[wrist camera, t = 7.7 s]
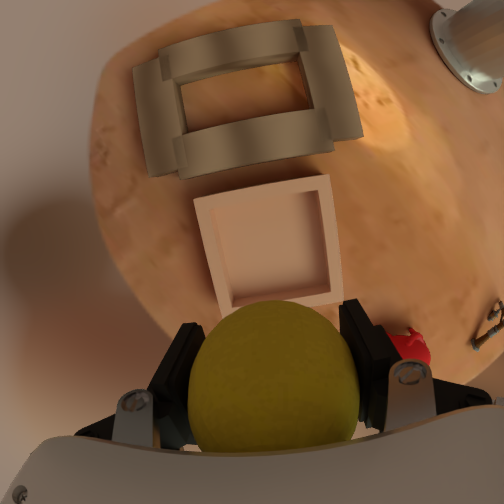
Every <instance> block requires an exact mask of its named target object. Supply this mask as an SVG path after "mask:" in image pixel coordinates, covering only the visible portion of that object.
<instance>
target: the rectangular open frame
mask: <svg viewBox="0 0 504 504" xmlns="http://www.w3.org/2000/svg"><path fill="white" fill-rule="evenodd" d="M158 54H159V57H158V58H156V59H153V60H150V61H148V62H145V63H143V64H140V65H138V66H136V67H133V68H132V72H133V81H134V90H135V98H136V106H137V113H138V120H139V126H140V132H141V138H142V144H143V150H144V155H145V161H146V166H147V171H148V176H149V177H160V176H163V175H167V174H170V173H174V172H178V173H179V178H180V180H183V179H190V178H194V177H198V176H202V175H207V174H211V173H215V172H220V171H224V170H229V169H234V168H239V167H244V166H249V165H254V164H259V163H264V162H270V161H276V160H282V159H288V158H294V157H300V156H307V155H314V154H321V153H329V152H332V151H335V149H334V144H333V142H336V141H345V140H355V139H358V138H361V137H364V135H363V130H362V125H361V121H360V116H359V112H358V108H357V104H356V100H355V96H354V92H353V88H352V85H351V81H350V77H349V74H348V71H347V67H346V64H345V61H344V58H343V54H342V51H341V48H340V45H339V42H338V40H337V37H336V34H335V31H334V29H333V26H332V25H318V26H302V24H301V21H300V19H293V20H283V21H274V22H266V23H259V24H253V25H247V26H242V27H237V28H232V29H227V30H223V31H218V32H214V33H210V34H206V35H203V36H199V37H195V38H192V39H189V40H185V41H182V42H179V43H176V44H173V45H170V46H167V47H164V48H161V49H159V50H158ZM296 61H297V62H298V65H299V69H300V73H301V77H302V80H303V84H304V88H305V92H306V96H307V100H308V104H309V110H301V111H294V112H287V113H280V114H274V115H268V116H262V117H257V118H252V119H247V120H242V121H237V122H232V123H228V124H223V125H219V126H215V127H211V128H207V129H203V130H199V131H195V132H192V133H188V127H187V122H186V116H185V111H184V105H183V100H182V94H181V88H180V86H181V85H184V84H187V83H191V82H194V81H198V80H201V79H205V78H209V77H213V76H217V75H221V74H225V73H229V72H234V71H239V70H244V69H249V68H254V67H260V66H266V65H272V64H279V63H287V62H296Z"/></svg>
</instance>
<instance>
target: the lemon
mask: <svg viewBox="0 0 504 504" xmlns="http://www.w3.org/2000/svg"><path fill="white" fill-rule="evenodd" d="M359 403H360V385H359V377H358V372H357V369H356V366H355V362H354V359H353V357H352V354H351V351H350V349H349V346H348V344H347V343H346V341H345V339H344V338H343V337H342V336H341V334H340V333H339V332H338V331H337V329H336V328H335V327H334V326H333V324H332V323H331V322H330V321H329V320H328V319H326V318H325V317H323V316H322V315H321V314H319V313H318V312H316V311H315V310H313V309H311V308H309V307H306V306H304V305H301V304H298V303H295V302H291V301H283V300H269V301H259V302H256V303H253V304H250V305H246V306H243V307H241V308H239V309H238V310H236V311H234V312H233V313H231V314H229V315H228V316H226V317H225V318H224V319H222V320H221V321H220V322H219V324H218V325H217V326H216V327H215V328H214V329H213V330H212V331H211V332H210V333H209V334H208V336H207V337H206V339H205V340H204V342H203V344H202V346H201V348H200V350H199V352H198V354H197V356H196V358H195V361H194V363H193V366H192V369H191V373H190V379H189V390H188V418H189V423H190V427H191V430H192V433H193V436H194V438H195V440H196V443H197V445H198V447H199V448H200V449H201V451H202V452H217V453H244V452H267V451H280V450H290V449H299V448H307V447H314V446H321V445H327V444H333V443H338V442H343V441H348V440H351V438H352V436H353V434H354V432H355V428H356V425H357V421H358V414H359Z"/></svg>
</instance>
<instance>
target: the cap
mask: <svg viewBox="0 0 504 504" xmlns="http://www.w3.org/2000/svg"><path fill="white" fill-rule="evenodd" d="M409 332H410V334H411V335H410V336H406V335H396V336H392V335H391V334H389V333H387V332H386V333H387V334H388V336H389V338H390V339H391V341H392V342H393V344H394V346H395V347H396V349H397V351H398V352H399V354H400V356H401V357H402V359H409V358H410V359H418V360H422V361H423V362H425V363H427V364H428V366H429V364H430V360H431V356H430V352H429V350H428V348H427V346H426V343H425V341H424V340H423V336H422V335H421V334H420V333H418V332H416V331H415V330H414V329H413V328H410V329H409Z"/></svg>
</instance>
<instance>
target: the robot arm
mask: <svg viewBox="0 0 504 504" xmlns="http://www.w3.org/2000/svg"><path fill="white" fill-rule="evenodd" d="M430 33H431V37H432V40H433V42H434V45H435V47H436V49H437V51H438V53H439V55H440V56H441V58H442V59H443V61H444V62H445V64H446V65H447V66H448V68H449V69H450V70H451V71H452V73H453V74H454V75H455V76H456V77H457V78H458V79H459V80H460V81H461V82H462V83H463V84H465V85H466V86H467V87H469V88H470V89H472V90H474V91H476V92H478V93H481V94H490V93H494V92H496V91H497V90H498V89H499V88H500V86H501V83H502V77H504V0H473V1H471V2H470V3H469V4H467V5H466V6H464V7H463V8H462V9H460V10H459V11H458V12H457V11H454V10H450V9H441V10H438V11H437V12H436V13H434V14H433V16H432V17H431V20H430ZM339 320H340V334H341V336H342V337H343V338H344V339H345V341H346V343H347V344H348V346H349V349H350V351H351V354H352V357H353V359H354V362H355V366H356V369H357V372H358V377H359V385H360V403H359V414H358V420H359V422H363V421H364V423H365V426H366V428H371V427H373V428H375V429H378V430H379V433H378V434H374V435H370V436H366V437H362V438H358V439H353V440H348V441H343V442H338V443H333V444H327V445H321V446H314V447H307V448H299V449H290V450H280V451H267V452H244V453H217V452H192V451H184V448H183V446H184V445H186V444H192V445H197V443H196V440H195V438H194V436H193V433H192V430H191V427H190V423H189V418H188V390H189V379H190V373H191V369H192V366H193V363H194V361H195V358H196V356H197V354H198V352H199V350H200V348H201V346H202V344H203V342H204V340H205V339H206V338H205V335H204V332H203V328H202V326H201V325H197V323H196V322H193V323H183V324H182V325H181V327H180V329H179V331H178V333H177V334H176V336H175V338H174V340H173V342H172V343H171V345H170V347H169V349H168V351H167V353H166V354H165V356H164V358H163V360H162V362H161V364H160V365H159V367H158V369H157V371H156V373H155V374H154V376H153V378H152V380H151V382H150V384H149V386H148V388H147V390H145V389H136V390H132V391H130V392H128V393H126V394H124V395H123V396H122V397H121V398H120V400H119V401H118V404H117V409H116V414H113V415H111V416H109V417H107V418H105V419H102V420H101V421H98V422H96V423H94V424H91V425H89V426H87V427H84V428H82V429H81V430H79V431H78V432H76V433H75V435H74V436H58V437H53V438H50V439H47V440H45V441H43V442H42V443H41V444H40V445H39V446H38V447H37V448H36V449H35V450H34V451H33V452H32V453H31V454H30V456H29V458H28V459H27V461H26V462H25V463H24V465H23V466H22V468H21V470H20V471H19V472H18V474H17V475H16V477H15V479H14V480H13V482H12V483H11V485H10V487H9V489H8V491H7V492H6V494H5V496H4V498H3V500H2V501H1V503H0V504H504V398H502V397H496V399H495V400H492V399H491V397H490V396H489V394H488V393H487V392H485V391H484V390H481V389H478V388H474V387H469V386H464V385H460V384H456V383H451V382H447V381H443V380H439V379H435V378H432V372H431V369H430V367H429V366H428V364H427V363H425V362H423V361H422V360H418V359H410V358H409V359H402V357H401V356H400V354H399V352H398V351H397V349H396V347H395V346H394V344H393V342H392V341H391V339H390V338H389V336H388V334H387V333H386V331H385V330H384V328H383V327H382V326H381V325H376V326H373V324H372V323H371V321H370V319H369V318H368V316H367V314H366V313H365V311H364V309H363V308H362V306H361V304H360V303H359V301H358V300H357V299H352V300H346V301H343V305H339Z"/></svg>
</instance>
